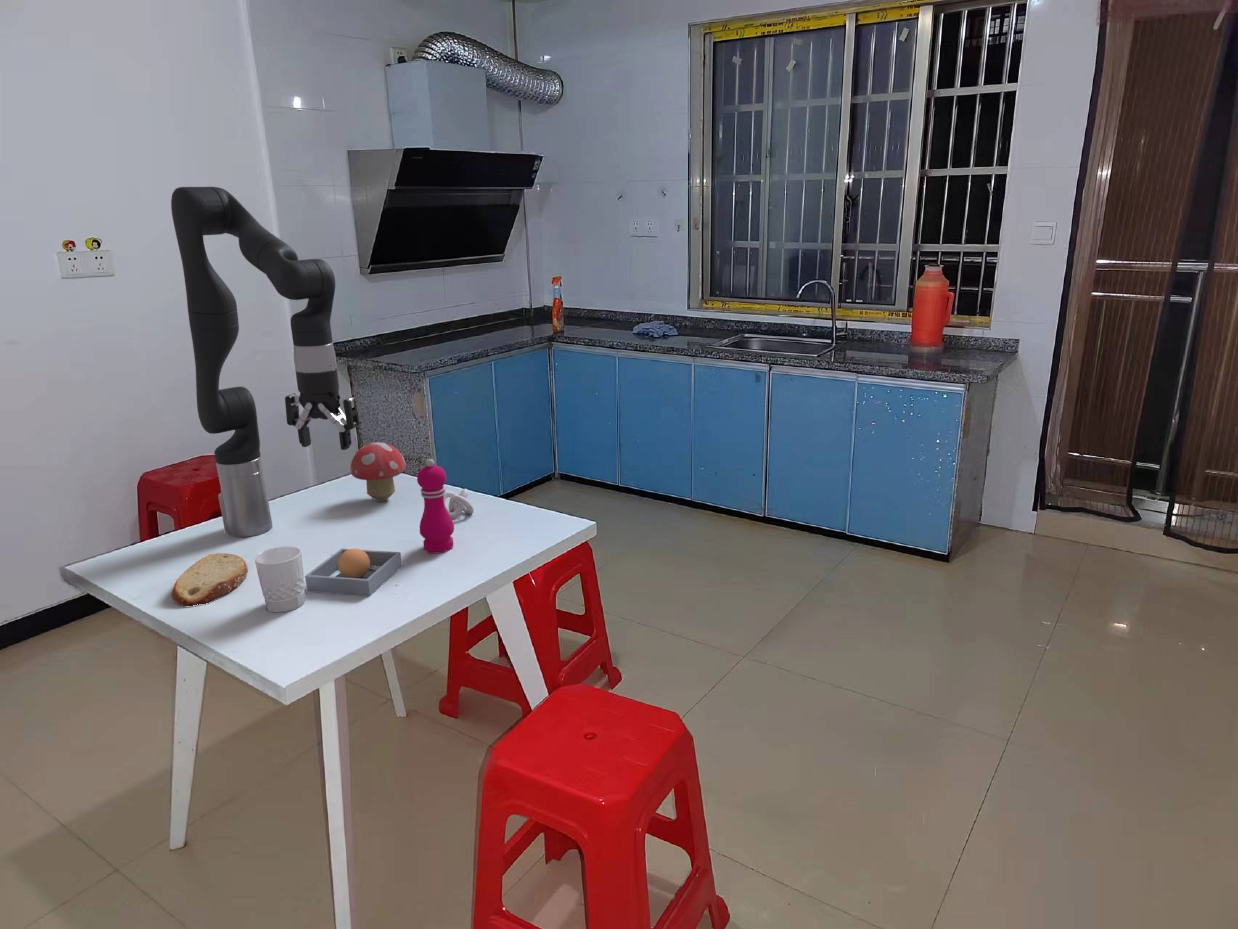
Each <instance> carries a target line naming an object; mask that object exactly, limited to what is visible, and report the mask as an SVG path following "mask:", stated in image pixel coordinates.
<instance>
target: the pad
mask: <svg viewBox="0 0 1238 929" xmlns="http://www.w3.org/2000/svg"><path fill="white" fill-rule="evenodd" d="M377 570H378V569H375V568H371V567H369V570H368V572H367V573H366V574H365V575H364V576H362V577H361V578H358V579H367V578H369V577H370V576H371V575H372V574H373V573H374V572H376V571H377ZM334 577H344V576H343V575H342V574H341V573H340V572H339V573H338V574H336V575H335V576H334ZM344 578H346V577H344Z"/></svg>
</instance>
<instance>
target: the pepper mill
mask: <svg viewBox="0 0 1238 929" xmlns="http://www.w3.org/2000/svg"><path fill="white" fill-rule="evenodd" d="M425 465H426V466H424V467H422V468H420V470H418V472H417V475H416V480H417V481H416V482H417V484H418V486H419V487H421V489H420V494H421V498H423V501H424V502H423V503H424V504H423V506H424V507H423V508H424V509H423V513H422V516H421V518H420V521H419V523H420V524H419V535H420V536H422V538H424V540H423V550H424V551H425V552H427V553H430V554H439V553H440V554H441V553H444V552H448V551H450V550H452V549H453V547H454V538H453V537H452V535H453V533H454V531H455V525H454V521H453V519H452V518H451V517H450V515H449V513H448V512H447V510H448V509H447V510H446V508H447V506H446V507H445V505H446V503H445V504H444V495H445V491H446V487H445V486H444V485H445V484H446V483H447V474H446V472H445V470H444V469H443V468H442V467H441V466H439V465H437V464H436V465H435V460H434V459H432V458H428V459H427V460H426V461H425Z"/></svg>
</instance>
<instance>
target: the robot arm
mask: <svg viewBox="0 0 1238 929" xmlns="http://www.w3.org/2000/svg"><path fill="white" fill-rule="evenodd" d="M170 210H171V216H172V222H173V228H174V231H175V235H176V240H177V245H178V250H179V254H180V259H181V263H182V269H183V270H182V271H183V276H184V285H185V292H186V295H185V296H186V302H187V304H186V305H187V307H186V308H187V313H188V321H189V328H190V335H191V341H192V347H193V355H194V356H193V357H194V365H195V366H194V367H195V390H196V391H195V393H196V408H197V414H198V420H199V421H200V425H201V426H202V428H203V430H204V431H205V432H207V433H208V434H211V435H214V434H216V435H217V434H221V433H226V432H231V431H234V433H233V434H232V435H231V436H230V438H228V439H227V440H226V441H224V442H222V443H221V444H220V445H218V446H217V447H216V448H215V450H214V453H213V454H214V459H215V460H214V461H215V464H216V465H215V466H216V470H217V476H218V480H219V485H220V491H221V492H219V494H218V501H219V507H220V511H221V517H222V518H221V519H222V522H223V523H222V524H223V529H224V533H225V534H229V535H230V536H233V537H238V538H242V537H243V538H246V537H252V536H257V535H261V534H263V533H266V532H268V531H270V530H271V529H272V528H273V521H272V520H273V519H272V515H271V508H270V503H269V502H270V501H269V496H268V491H267V486H266V485H267V484H266V479H265V474H264V468H263V462H262V457H261V451H260V450H261V438H260V434H259V433H260V431H259V424H258V414H257V407H256V403H255V400H254V397H253V395H252V393H251V391H250V390H249V389H248V388H247V387H245V386H234V387H233V386H232V387H229V388H228V387H227V388H221V389H219V388H220V387H219V386H220V379H221V378H220V376H221V373H222V369H223V366H224V363H225V362H226V361H227V358H228V356H229V355H230V353H231V352H232V349H233V347H234V345H235V343H236V342H237V338H238V335H239V332H240V324H239V315H238V306H237V305H238V304H237V300H236V298H235V296H234V293H233V292H232V291H231V289H230V288H229V287H228V285H227V284H226V283H225V281H224V280H223V278H222V277H220V275H219V274H218V273H217V271H216V270H215V269H214V267H213V265H212V264H211V262H210V260H209V258H208V254H207V252H206V247H205V242H204V236H217V235H218V236H219V235H224V234H228V235H231V236H233V237H236V238H237V239H238V246H239V250H240V252H241V254H242V256H243V257H244V259H245V260H246V261H248V263H250V264H251V265H252V266H254V267H255V268H256V269H257V270H259V271H260V272H261V273H263V274H265V276H266V277H267V278H268V280H269V281H270V284H271V285H273V287H274V289H275V291H276V292H277V293H278V294H279V295H280V296H282V297H283V298H285V299H288V300H290V301H291V300H292V301H300V300H307V304H306V307H305V308H304V309H302V310H300V311H298V312H296V313H294V314H292V315H291V317H290V328H291V330H290V331H291V336H292V344H293V345H292V346H293V362H294V364H293V365H294V371H295V378H296V384H297V391H298V393H299V395H298V394H297V393H291V394H289V395H286V396H285V397H284V403H285V404H284V405H285V413H286V416H285V417H286V424H287V425H288V426H293V427H295V428H296V429H297V433H298V434H297V435H298V442H299V444H300V445H301V447H304V448H307V447H310V446H311V444H312V438H311V431H310V426H308V425H309V424H310V422H311V420H316V419H322V420H325V421H326V420H329V421H330V423H331V424H333V425H334V426H336V428H337V429H338V430H339V432H338V436H339V444H340V450H342V451H346V450H348V449H350V447H351V446H352V444H353V443H352V434H351V430H353V429H355V428H357V427H358V426H360V419H359V414H358V413H359V412H358V408H357V402H356V398H355V397H354V396H350V397H348V398H347V397H345V398H344V397H343V398H341V396H340V382H339V375H338V363H337V355H336V351H335V348H334V344H333V335H332V326H331V317H332V312H333V304H334V298H335V292H336V277H335V274H334V271H333V269H332V267H331V265H329V263H328V262H326V261H325V260H323V259H320V258H310V259H299V258H298V257H299V256H298V254H297V252H296V250H295V249H293V248H292V247H291V246H290V245H289V244H288V243H286V242H284V241H283V240H281V239H280V238H279V237H277V236H276V235H274V234H273V233H271V232H270V231H269V230H267V229H266V228H265V227H264V226H263V225H262V224H260V222H259V221H258V220H257V219H256V218H255V217H254V215H252V214H251V213H250V211H248V210H247V208H246V207H244V206H243V205H242V203H241V202H240V201H238V199H237V198H236V197H235V196H234V195H233V194H231V193H230V192H229V191H227V190H226V189H224V188H221V187H218V186H180V187H179V186H178V187H177V188H175V189H174V191H173V192H172V194H171V199H170ZM299 406H301V407H302V408H303V409H302V411H301V413H300V408H299ZM341 406H342V407H341ZM341 408H342V409H343V410H344V411H342V409H341Z"/></svg>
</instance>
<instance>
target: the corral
mask: <svg viewBox="0 0 1238 929" xmlns="http://www.w3.org/2000/svg"><path fill="white" fill-rule="evenodd" d="M349 549H350V548H342V547H341V548H340V549H339V550H338V551H336V552H334V554H332V555H331V556H329V557H328V558H327V559H325V560H324V561H322V563H320V564H319V565H318V566H316V567H315V568H314V569H313V570H311V571H310V572H308V573H307V574H306V575H304V578H305V580H304V581H305V586H306V591H307V592H314V593H327V594H337V593H338V594H339V595H348V596H349V595H351V596H362V595H363V597H364V596H366V597H372V595H373V594H374V593H375V592H377V590H379V588H380V587H382V586H383V585H384V584H385V583H386V582H387V581H388V580H390V578H392V577H393V576H394V575H395V574H396V573H397V572H398V571H399V570H400V569H402V567H403V564H402V563H403V562H402V555H401V553H402V552H400V551H385V550H372V549H371V550H369V549H361V550H362V551H364V552H365V553H366V554H367V555H368V557H369V560H370V567H379V568H378V569H376V570H377V571H376V572H374V573H373V574H372V575H371V576H370V577H369V578H367V579H358V578H344V577H335V576H332V575H333V574H334V573H335V572H336V571H339V568H338V561H339V558H340V556H341V555H342V554H343V553H344V552H345V551H347V550H349ZM398 569H399V570H398ZM397 570H398V571H397ZM395 572H396V573H395ZM394 573H395V574H394ZM393 574H394V575H393ZM392 575H393V576H392ZM384 582H385V583H384ZM383 583H384V584H383ZM381 585H382V586H381ZM372 593H373V594H372Z"/></svg>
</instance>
